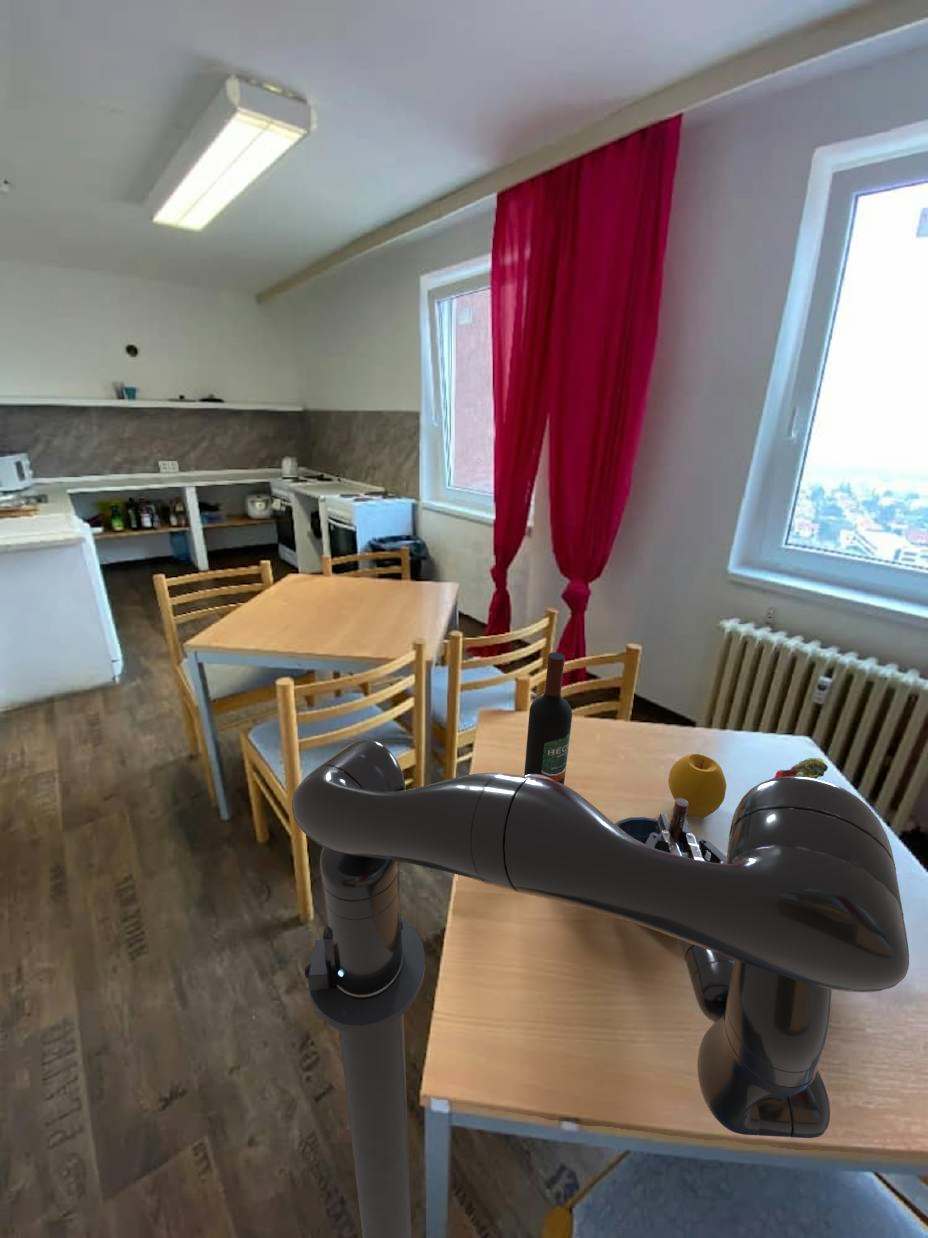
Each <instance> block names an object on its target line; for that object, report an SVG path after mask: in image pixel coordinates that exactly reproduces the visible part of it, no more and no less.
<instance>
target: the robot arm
mask: <svg viewBox="0 0 928 1238" xmlns="http://www.w3.org/2000/svg"><path fill="white" fill-rule="evenodd" d="M399 763H400V762H399V761H398V760H397V758H396V756H395V755H394V754H393V753H392V752H391V751H390V750H389V749H388V748H387V747H386V746H385V745H383V744H382V743H381V742H378V741H376V740H372V739H359V740H358V739H357V740H356V741H353V742H352V743H350V744H348V745H346V746H345V747H343V748H342V749H341V750H340V751H338V752H337V753H336V754H334V755H332V756H331V757H330V758H328V759H327V760H326V761H325V762H323V763H322V764H320V765H319V766H318V767H316V768H315V769H314V770H313V771H311V772H310V773H309V774H307V775H306V777H304V779H302V781H301V782H300V783H299V785H298V786H297V787H296V789H295V790H294V793H293V797H292V802H291V805H292V806H291V808H292V809H291V811H292V815H293V818H294V820H295V822H296V824H297V826H298V827H299V828H300V830H301V832H303V833H304V834H305V836H307V837H308V838H309V839H310V840H312V841H313V842H314V843H315V844H317V845H319V846H321V847H322V848H321V852H320V854H319V873H320V882H321V891H322V898H323V907H324V917H325V921H324V926H323V932H322V937H323V940H321V939H316V940H315V941H314V945H313V946H314V947H313V952H312V954H313V956H312V955H311V957H312V961H311V963H310V962H309V964H308V965H307V966H305V968H304V976H305V977H306V978H307V980H308V979H309V983H310V989H311V990H320V989H329V988H337V989H338V990H339V991H340V992H341V993H343V994H344V995H346V996H348V997H350V998H353V999H370V998H373V997H376V996H378V995H380V994H382V993H384V992H385V991H386V990H388V989H389V988H390V987H391V986H392V985H393V984H394V982H395V981H396V980H397V978H398V976H399V974H400V972H401V969H402V964H403V950H402V934H401V928H402V929H403V922H402V921H401V917H402V912H401V911H402V910H401V909H402V907H401V881H400V879H401V877H400V863H405V864H411V865H415V866H419V867H423V868H428V869H432V870H437V871H442V872H445V873H450V874H453V875H457V876H461V877H465V878H468V879H471V880H474V881H477V882H480V883H484V884H486V885H489V886H493V887H497V888H500V889H504V890H508V891H512V892H515V893H520V894H522V895H528V896H532V897H537V898H541V899H545V900H551V901H554V902H557V903H562V904H566V905H569V906H573V907H576V908H581V909H585V910H588V911H592V912H594V913H595V912H596V913H599V914H602V915H606V916H609V917H613V918H616V919H620V920H623V921H626V922H630V923H632V924H636V925H639V926H641V927H645V928H647V929H650V930H653V931H656V932H658V933H662V934H664V935H666V936H669V937H672V938H676V941H677V945H678V947H679V949H680V952H681V954H682V956H683V959H684V962H685V963H686V968H687V971H688V974H689V979H690V982H691V984H692V989H693V993H694V996H695V999H696V1002H697V1005H698V1007H699V1009H700V1011H701V1012H702V1014H703V1015H704V1016H705V1017H706V1018H707V1019H709V1021H712V1022H713V1024H712V1025H711V1026H710V1027H708V1030H707V1031H706V1032H705V1033H704V1035H703V1038H702V1040H701V1042H700V1045H699V1049H698V1054H697V1065H696V1066H697V1078H698V1085H699V1088H700V1091H701V1095H702V1097H703V1100H704V1102H705V1104H706V1106H707V1108H708V1110H709V1112H710V1113H711V1114H712V1116H713V1117H714V1118H715V1119H716V1121H717V1122H718V1123H720V1124H721V1125H722V1126H723V1127H724V1128H725V1129H727V1130H728V1131H730V1132H732V1133H734V1134H735V1133H736V1134H737V1135H738V1134H739V1135H744V1136H759V1137H778V1138H779V1137H782V1138H794V1139H795V1138H796V1139H797V1138H798V1139H813V1138H819V1137H821V1136H822V1135H824V1134H825V1132H826V1131H827V1129H828V1127H829V1124H830V1120H831V1102H830V1097H829V1093H828V1089H827V1087H826V1084H825V1081H824V1079H823V1077H822V1075H821V1073H820V1071H819V1067H820V1065H821V1061H822V1058H823V1055H824V1053H825V1049H826V1045H827V1042H828V1037H829V1031H830V1030H829V1029H830V1020H831V1009H832V996H833V990H835V991H839V992H840V991H841V992H847V993H877V992H882V991H885V990H888V989H892V988H894V987H896V986H897V985H898V984H899V983H901V981H902V980H904V979H905V978H906V976H907V974H908V972H909V971H908V970H909V966H910V951H909V950H910V949H909V943H908V937H907V930H906V924H905V917H904V911H903V904H902V899H901V893H900V885H899V882H898V881H899V880H898V875H897V868H896V863H895V858H894V854H893V850H892V846H891V842H890V839H889V837H888V835H887V832H886V830H885V828H884V827H883V824H882V823H881V821H880V819H879V818H878V817H877V815H876V814H875V813H874V812H873V811H872V809H871V808H870V807H869V805H867V804H866V803H865V802H864V801H863V800H862V799H860V797H859V796H857V795H856V794H854V793H852V792H851V791H848V790H847V789H845V788H843V787H841V786H838V785H837V784H834V783H832V782H829V781H826V780H822V779H818V778H817V779H815V778H809V777H801V776H786V777H779V778H774V777H772V778H771V779H767V780H765V781H762V782H760V783H758V784H757V785H754V786H753V787H752V788H750V789H749V790H748V792H746V794H745V795H744V796H742V798H741V799H740V801H739V803H738V804H737V806H736V808H735V811H734V814H733V816H732V819H731V824H730V829H729V836H728V845H727V854H726V855H725V854H724V853H723V852H722V851H721V850H720V849H719V848H717V847H716V845H714V844H713V843H712V842H711V841H710V840H709V839H707V838H706V837H700V838H697V837H696V836H695V835H694V834H693V833H692V831H691V828H690V825H689V823H688V820H686V819H685V822H684V826H683V830H682V835H681V839H680V844H683V850H684V853H683V852H680V850H679V848H678V846H677V844H676V842H674V841H673V838H672V836H671V834H670V833H671V830H670V827H669V824H670V823H669V822H668V818H667V815H666V813H659V815H658V816H657V817H656V819H657V821H656V825H655V827H656V830H657V833H651V834H650V836H649V838H648V840H647V842H646V844H644V843H642V842H640V841H638V840H636V839H635V838H633V837H631V836H630V835H628V834H627V833H625V832H624V831H623V830H622V829H620V828H619V827H618V826H617V825H615V823H614V822H613V821H612V820H611V819H609V818H608V816H606V815H605V814H604V813H603V812H601V811H600V810H599V809H598V808H597V807H596V806H594V804H592V803H591V802H590V801H588V800H587V799H586V798H585V797H584V796H582V795H581V794H579V793H578V792H577V791H575V790H574V789H572V788H571V787H569V786H567V785H565V784H564V785H563V784H561V783H559V782H556V781H553V780H549V779H544V778H538V777H530V776H524V775H523V774H522V775H521V774H514V773H513V774H511V773H503V772H479V773H471V774H466V775H461V776H456V777H453V778H448V779H445V780H442V781H437V782H434V783H429V784H426V785H423V786H419V787H414V788H410V789H409V788H408V789H407V786H406V781H405V777H404V773H403V771H402V768H401V766H400V764H399ZM658 848H660V849H661V850H658Z"/></svg>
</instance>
